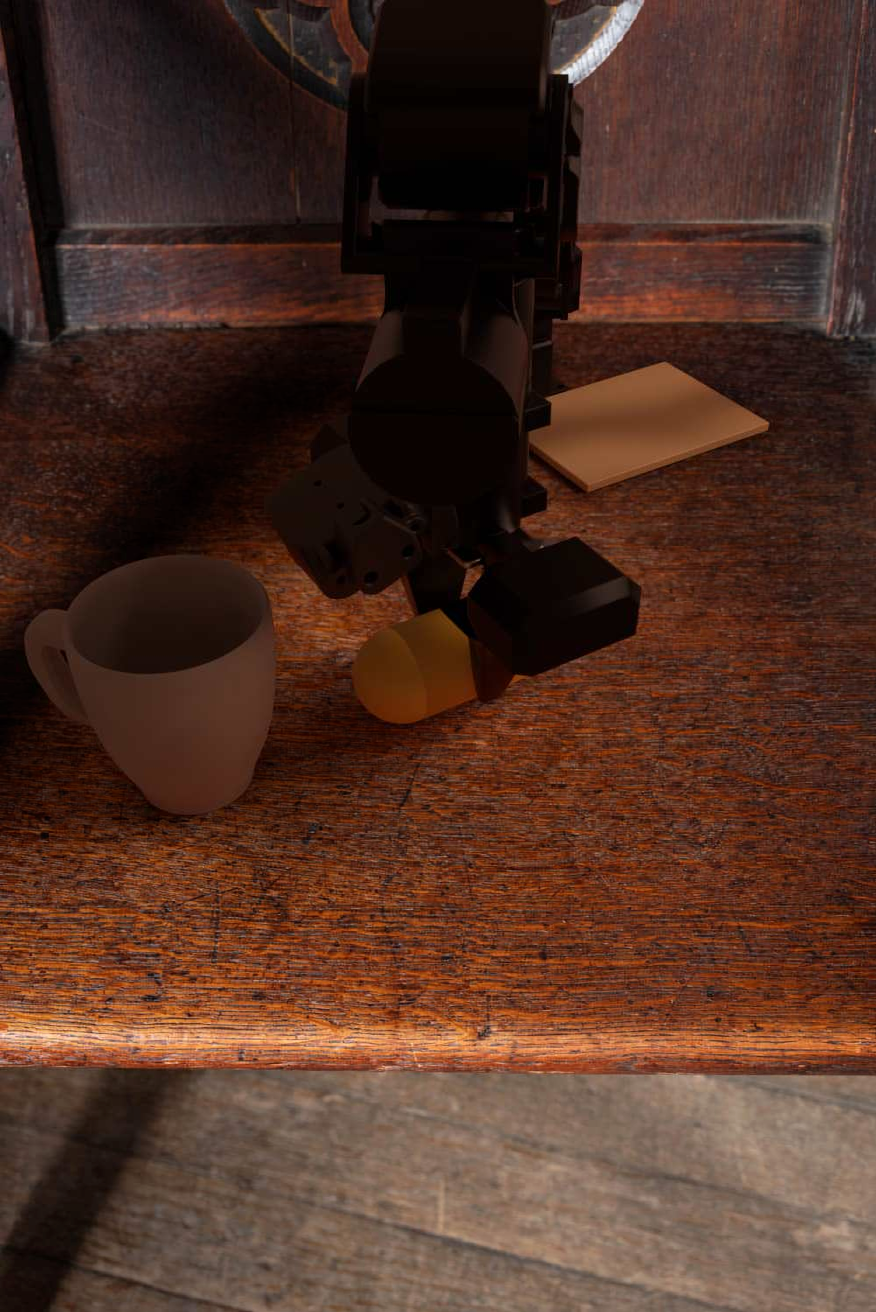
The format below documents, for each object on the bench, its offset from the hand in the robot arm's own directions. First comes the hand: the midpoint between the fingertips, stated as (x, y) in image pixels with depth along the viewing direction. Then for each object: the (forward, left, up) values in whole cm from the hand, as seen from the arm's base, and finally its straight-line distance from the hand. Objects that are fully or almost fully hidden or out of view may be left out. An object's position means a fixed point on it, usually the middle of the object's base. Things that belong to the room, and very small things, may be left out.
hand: (462, 671), depth 61 cm
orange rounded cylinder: (0, +1, -1) cm, 2 cm away
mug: (-4, -14, -3) cm, 15 cm away
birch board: (-19, +25, -3) cm, 32 cm away
